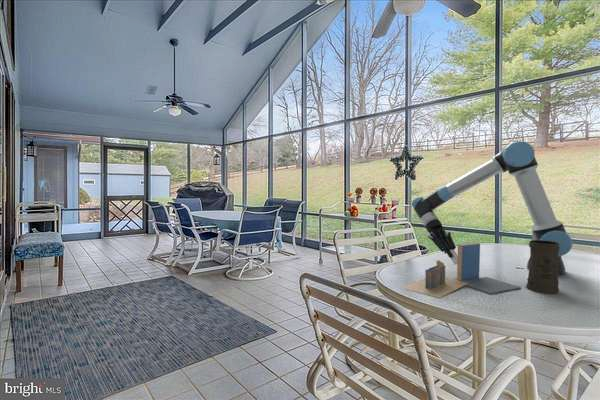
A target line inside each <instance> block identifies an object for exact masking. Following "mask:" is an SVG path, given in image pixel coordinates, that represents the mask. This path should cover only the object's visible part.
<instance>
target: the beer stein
mask: <svg viewBox="0 0 600 400" xmlns="http://www.w3.org/2000/svg"><path fill="white" fill-rule="evenodd" d="M528 246H529V253H530V255H529V258H530V263H529V269H528V277H527V279H526V280H527V282H526V285H525V287H526V289H528V290H530V291H533V292H536V293H540V294H548V295H551V294H554V293H555V294H559V292H560V289H559V284H560V283H559V274H558V252H559V248H560V247H559V243H557V242H552V241H543V240H532V239H531V240H530V241H529V243H528Z"/></svg>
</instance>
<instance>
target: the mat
mask: <svg viewBox="0 0 600 400" xmlns="http://www.w3.org/2000/svg"><path fill="white" fill-rule="evenodd" d="M460 282H465V283H468V284H466V285H464V286H465V287H468V288H470V289H474V290H475V291H480V292H482V293H485V294H488V295H494V294H501V293H506V292H511V291H516V290H517V291H518V290H522V286H518V285H515V284H512V283H509V282H505V281H502V280H499V279H495V278H491V277H488V276H482V277H479V278H475V279H468V280H462V281H460ZM464 286H463V287H464Z"/></svg>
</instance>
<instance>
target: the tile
mask: <svg viewBox="0 0 600 400" xmlns="http://www.w3.org/2000/svg"><path fill="white" fill-rule="evenodd" d="M480 256H481V243H479V242H471V243H470V242H469V243H461V244H460V243H459V244H457V257H458V258H457V264H456V266H457V267H456V272H457V273H456V281H462V280H468V279H475V278H480V259H481V258H480Z"/></svg>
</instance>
